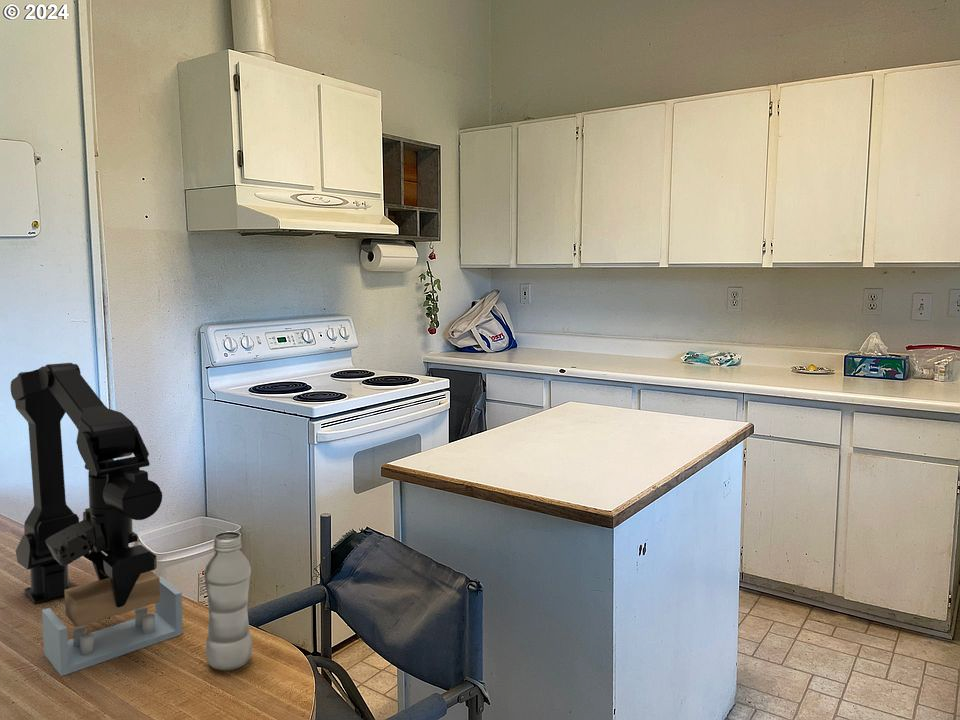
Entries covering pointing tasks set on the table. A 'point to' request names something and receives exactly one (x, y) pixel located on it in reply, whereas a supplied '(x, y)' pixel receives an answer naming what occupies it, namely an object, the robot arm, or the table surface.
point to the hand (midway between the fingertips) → (113, 600)
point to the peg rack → (112, 634)
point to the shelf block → (108, 599)
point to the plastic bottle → (228, 604)
